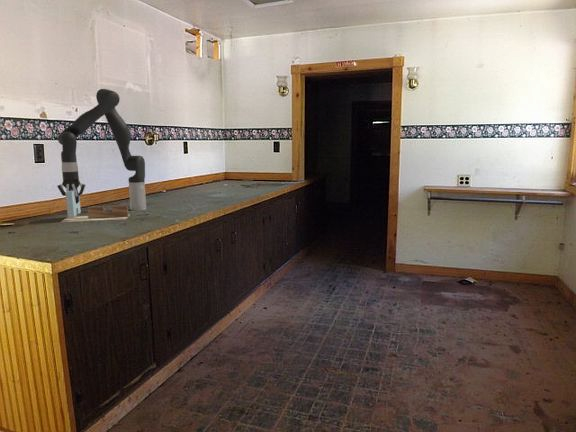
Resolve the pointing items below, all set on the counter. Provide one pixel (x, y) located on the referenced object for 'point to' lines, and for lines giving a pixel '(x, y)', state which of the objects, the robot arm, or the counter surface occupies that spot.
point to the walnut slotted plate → (100, 213)
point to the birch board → (85, 218)
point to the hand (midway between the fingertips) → (73, 203)
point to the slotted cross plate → (72, 204)
